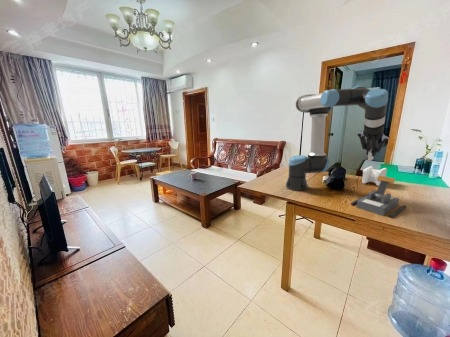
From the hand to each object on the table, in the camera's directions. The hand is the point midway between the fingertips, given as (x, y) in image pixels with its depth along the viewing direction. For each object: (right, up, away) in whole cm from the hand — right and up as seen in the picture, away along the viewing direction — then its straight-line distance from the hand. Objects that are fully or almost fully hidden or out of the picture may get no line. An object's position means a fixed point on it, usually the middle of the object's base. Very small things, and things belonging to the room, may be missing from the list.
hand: (370, 159), depth 102 cm
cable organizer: (+31, -16, +38) cm, 52 cm away
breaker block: (+6, -26, +3) cm, 27 cm away
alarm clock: (+12, -13, +54) cm, 57 cm away
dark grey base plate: (+6, -26, +3) cm, 27 cm away
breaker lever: (+5, -21, +2) cm, 22 cm away
